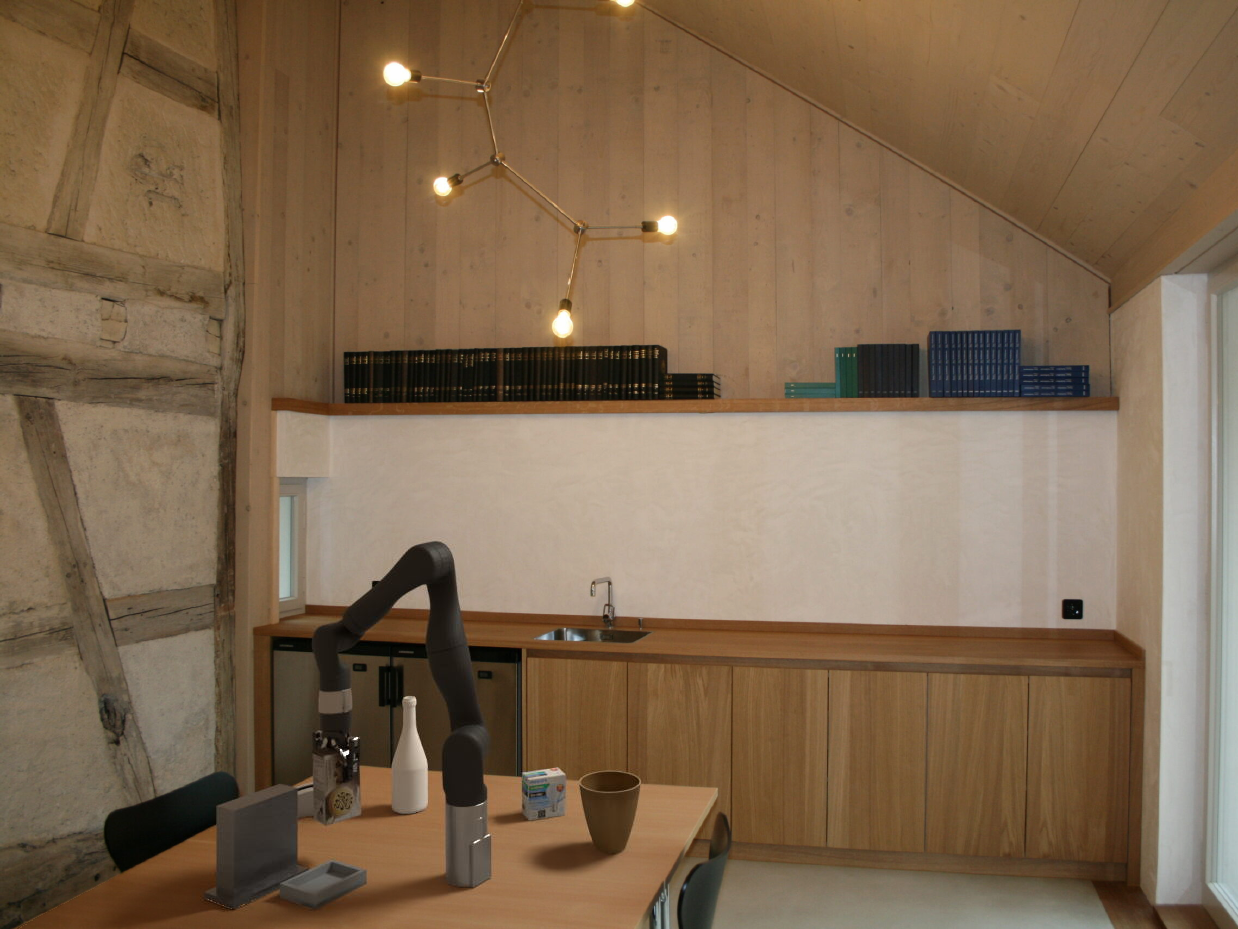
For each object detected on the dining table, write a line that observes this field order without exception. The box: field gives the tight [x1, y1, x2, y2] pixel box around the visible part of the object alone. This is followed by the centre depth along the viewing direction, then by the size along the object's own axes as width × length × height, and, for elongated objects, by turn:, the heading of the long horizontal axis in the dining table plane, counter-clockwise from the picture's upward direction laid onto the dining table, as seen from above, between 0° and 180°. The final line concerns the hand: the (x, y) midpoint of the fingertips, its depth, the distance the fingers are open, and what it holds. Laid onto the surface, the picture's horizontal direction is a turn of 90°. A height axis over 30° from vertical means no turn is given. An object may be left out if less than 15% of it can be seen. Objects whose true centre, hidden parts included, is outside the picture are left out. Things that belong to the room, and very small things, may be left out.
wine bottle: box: [391, 695, 429, 815], centre depth 238 cm, size 10×10×30 cm
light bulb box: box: [521, 767, 567, 821], centre depth 233 cm, size 11×7×11 cm, turn 114°
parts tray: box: [279, 859, 368, 911], centre depth 189 cm, size 11×14×3 cm
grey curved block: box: [294, 781, 314, 819], centre depth 235 cm, size 17×5×10 cm, turn 109°
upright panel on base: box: [203, 783, 310, 910], centre depth 192 cm, size 10×19×20 cm, turn 149°
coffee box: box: [311, 748, 362, 826], centre depth 205 cm, size 9×6×16 cm
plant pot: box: [578, 770, 642, 854], centre depth 211 cm, size 15×15×16 cm
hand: (336, 778), depth 205 cm, fingers closed on coffee box, 7 cm apart
